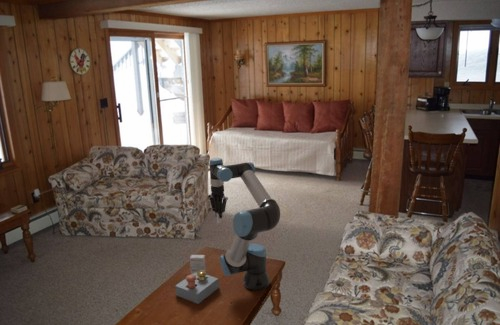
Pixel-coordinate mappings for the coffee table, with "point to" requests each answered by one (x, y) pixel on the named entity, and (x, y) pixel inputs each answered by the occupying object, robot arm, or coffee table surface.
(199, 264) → the ink box
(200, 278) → the brass plug
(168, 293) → the coffee table surface
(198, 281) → the socket board
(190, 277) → the rust plug
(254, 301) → the coffee table surface
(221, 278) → the coffee table surface
